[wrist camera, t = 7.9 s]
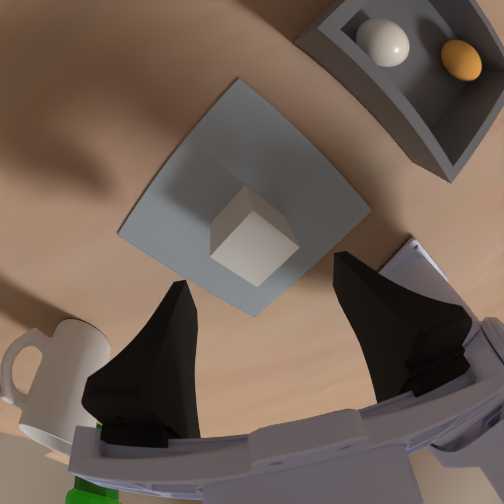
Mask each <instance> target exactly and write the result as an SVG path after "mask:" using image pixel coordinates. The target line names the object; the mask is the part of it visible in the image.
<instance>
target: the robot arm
mask: <svg viewBox="0 0 504 504" xmlns="http://www.w3.org/2000/svg"><path fill="white" fill-rule="evenodd" d="M415 245H416V246H415ZM414 246H415V247H414ZM333 287H334V290H335V293H336V295H337V298H338V301H339V303H340V305H341V307H342V309H343V311H344V313H345V315H346V317H347V319H348V321H349V322H350V324H351V326H352V328H353V330H354V332H355V334H356V336H357V338H358V341H359V343H360V346H361V348H362V351H363V354H364V357H365V360H366V363H367V366H368V369H369V373H370V376H371V380H372V383H373V387H374V391H375V396H376V400H377V404H375V405H372V406H369V407H366V408H363V409H359V410H354V409H344V410H339V411H334V412H330V413H327V414H323V415H319V416H315V417H310V418H306V419H301V420H296V421H292V422H286V423H281V424H275V425H271V426H267V427H263V428H259V429H257V430H255V431H253V432H251V433H250V434H244V435H235V436H225V437H212V438H201V436H200V430H199V423H198V414H197V405H196V392H195V357H196V345H197V333H198V319H197V309H196V306H195V304H194V301H193V298H192V295H191V293H190V290H189V287H188V284H187V282H186V280H182V281H176V282H174V283H173V284H172V286H171V287H170V289H169V290H168V292H167V294H166V295H165V297H164V298H163V300H162V302H161V303H160V305H159V306H158V308H157V309H156V311H155V312H154V314H153V315H152V317H151V318H150V319H149V321H148V322H147V324H146V325H145V326H144V327H143V329H142V330H141V331H140V332H139V333H138V335H137V336H136V337H135V338H134V339H133V340H132V341H131V342H130V343H129V344H128V345H127V346H126V347H125V348H124V349H123V350H122V351H121V352H120V353H119V354H118V355H117V356H116V357H114V358H113V359H112V360H111V361H110V362H108V363H107V364H106V365H105V366H103V367H102V368H100V369H99V370H97V371H96V372H95V373H93V374H92V375H90V376H89V377H87V381H86V384H85V388H84V392H83V395H82V399H81V404H82V406H83V408H84V409H85V410H86V411H87V412H88V413H89V414H90V415H92V416H93V417H94V418H95V419H97V420H98V421H99V422H100V423H102V424H103V425H102V430H100V429H97V428H93V427H86V426H79V425H77V426H76V428H75V432H74V438H73V443H72V448H71V454H70V461H69V467H68V471H69V472H70V473H72V474H74V475H76V476H78V477H80V478H83V479H85V480H87V481H89V482H92V483H94V484H96V485H99V486H102V487H107V488H111V489H117V490H122V491H127V492H133V493H139V494H145V495H153V496H160V497H170V498H180V499H196V500H203V504H424V502H423V498H422V495H421V492H420V489H419V486H418V483H417V480H416V477H415V474H414V471H413V468H412V466H411V463H410V460H409V457H408V455H410V454H412V453H414V452H416V451H418V450H420V449H422V448H424V449H426V450H427V451H429V452H430V453H432V454H433V455H434V456H435V457H436V458H437V459H438V460H439V462H440V463H441V464H442V466H443V467H449V468H464V467H479V468H481V470H482V471H483V472H484V474H485V476H486V477H487V479H488V480H489V481H490V483H491V485H492V486H493V488H494V489H495V491H496V492H497V494H498V496H499V497H500V499H501V500H502V502H503V504H504V324H503V323H502V322H501V321H500V320H499V319H498V318H496V317H485V318H484V320H483V321H482V322H481V321H479V320H478V318H477V317H476V316H475V314H474V313H473V312H472V311H471V309H470V308H469V307H468V306H467V304H466V303H465V302H464V301H463V299H462V298H461V297H460V296H459V295H458V293H457V292H456V291H455V290H454V289H453V288H452V286H451V285H450V284H449V283H448V279H447V278H446V276H445V275H444V274H443V272H442V271H441V270H440V268H439V267H438V266H437V264H436V263H435V262H434V261H433V259H432V258H431V257H430V256H429V254H428V253H427V252H426V251H425V249H424V248H423V247H422V246H421V245H420V243H419V242H418V241H417V240H416V239H415V238H410V239H409V240H408V241H407V242H406V244H405V245H404V246H403V247H402V248H401V249H400V250H399V251H398V252H397V253H396V254H395V256H394V257H393V258H392V259H391V260H390V261H389V262H388V263H387V264H386V265H385V266H384V267H383V268H382V269H381V270H380V271H379V272H376V271H375V270H373V269H372V268H370V267H369V266H367V265H366V264H364V263H363V262H361V261H360V260H358V259H357V258H356V257H354V256H353V255H351V254H350V253H348V252H347V251H343V252H338V253H334V275H333Z"/></svg>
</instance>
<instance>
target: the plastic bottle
mask: <svg viewBox="0 0 504 504" xmlns="http://www.w3.org/2000/svg"><path fill="white" fill-rule="evenodd" d="M96 428H97V429H100V430H102V427H97V426H96ZM118 496H119V490H117V489H111V488H107V487H102V486H99V485H96V484H94V483H92V482H89V481H87V480H85V479H83V478H80V477H78V476H76V475H75V485H74V488H73V489H72V490H70V491H68V493H67V496H66V504H121V503H120V502H119V501H118V498H119V497H118Z"/></svg>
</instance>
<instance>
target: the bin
mask: <svg viewBox="0 0 504 504" xmlns="http://www.w3.org/2000/svg"><path fill="white" fill-rule="evenodd" d="M373 18H383V19H387V20H390V21H392V22H394V23H395V24H397V25H398V26H399V27H400V28H401V29H402V30H403V31H404V32H405V34H406V35H407V38H408V40H409V46H410V48H409V53H408V56H407V58H406V59H405V60H404V61H403V62H402V63H400V64H399V65H396V66H392V67H383V66H379V65H377V64H376V63H375V62H374V61H373V60H372V59H371V58H370V57H369V56H368V55H367V54H366V53H365V52H364V51H363V50H362V49H361V48H360V47H359V46H358V45H357V43H356V33H357V30H358V28H359V27H360V25H361V24H362V23H364V22H365V21H367V20H369V19H373ZM450 40H461V41H464V42H466V43H468V44H469V45H471V46H472V47H473V48H474V49H475V50H476V52H477V53H478V55H479V57H480V59H481V64H482V68H481V72H480V74H479V76H478V77H477V78H476V79H474V80H472V81H462V80H459V79H457V78H455V77H453V76H452V75H451V74H450V73H449V72H448V71H447V70H446V68H445V67H444V65H443V63H442V59H441V50H442V48H443V46H444V44H445V43H447V42H448V41H450ZM292 43H293V44H294V45H296V46H297V47H298V48H300V49H301V50H302V51H303V52H305V53H306V54H307V55H308V56H310V57H311V58H312V59H313V60H315V61H316V62H317V63H318V64H319V65H320V66H322V67H323V68H324V69H325V70H326V71H327V72H329V73H330V74H331V75H332V76H333V77H334V78H335V79H336V80H337V81H339V82H340V83H341V84H342V85H343V86H344V87H345V88H346V89H347V90H348V91H349V92H350V93H351V94H352V95H353V96H354V97H355V98H356V99H357V100H358V101H359V102H360V103H361V104H362V105H363V106H364V107H365V108H366V109H367V110H368V111H369V112H370V113H371V114H372V115H373V116H374V117H375V118H376V119H377V121H378V122H379V123H380V124H381V125H382V126H383V127H384V128H385V130H386V131H387V132H388V133H389V134H390V135H391V136H392V138H393V139H394V140H395V141H396V142H397V144H398V145H399V146H400V147H401V148H402V150H403V151H404V152H405V153H406V155H407V156H408V157H409V159H410V160H411V161H412V162H413V163H415V164H417V165H419V166H420V167H422V168H424V169H426V170H428V171H430V172H432V173H433V174H435V175H437V176H439V177H440V178H442V179H444V180H446V181H447V182H449V183H452V182H453V180H454V179H455V178H456V176H457V175H458V174H459V172H460V171H461V170H462V168H463V167H464V166H465V164H466V163H467V161H468V160H469V159H470V157H471V156H472V154H473V153H474V151H475V150H476V148H477V147H478V145H479V144H480V142H481V141H482V139H483V138H484V136H485V135H486V133H487V132H488V130H489V129H490V127H491V125H492V124H493V122H494V121H495V119H496V117H497V116H498V114H499V112H500V111H501V109H502V107H503V105H504V47H503V45H502V43H501V41H500V39H499V37H498V36H497V34H496V32H495V30H494V29H493V27H492V25H491V24H490V22H489V20H488V19H487V17H486V16H485V14H484V13H483V11H482V10H481V8H480V7H479V5H478V4H477V2H476V1H475V0H335V1H333V2H332V3H331V4H330V5H329V6H328V7H327V8H326V9H325V10H324V11H323V12H322V13H321V14H320V15H319V16H318V17H317V18H316V19H315V20H314V21H313V22H312V23H311V24H310V25H309V26H308V27H307V28H306V29H305V30H304V31H303V32H302V33H301V34H300V35H299V36H298V37H297V38H296V39H295V40H294V41H293V42H292Z"/></svg>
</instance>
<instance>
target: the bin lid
mask: <svg viewBox="0 0 504 504" xmlns="http://www.w3.org/2000/svg"><path fill="white" fill-rule="evenodd" d="M371 211H372V209H371V208H370V207H369V206H368V205H367V203H366V202H365V201H364V200H363V199H362V197H361V196H360V195H359V194H358V193H357V192H356V190H355V189H354V188H353V187H352V186H351V185H350V184H349V182H348V181H347V180H346V179H345V178H344V177H343V176H342V175H341V173H340V172H339V171H338V170H337V169H336V168H335V167H334V166H333V165H332V164H331V163H330V162H329V161H328V159H327V158H326V157H325V156H324V155H323V154H322V153H321V152H320V151H319V150H318V149H317V148H316V147H315V146H314V145H313V144H312V143H311V142H310V141H309V140H308V139H307V138H306V137H305V136H304V135H303V134H302V133H301V132H300V131H299V130H298V129H297V128H296V127H295V126H294V125H293V124H291V123H290V122H289V121H288V120H287V119H286V118H285V117H284V116H283V115H282V114H281V113H280V112H278V111H277V110H276V109H275V108H274V107H273V106H272V105H271V104H270V103H268V102H267V101H266V100H265V99H264V98H263V97H262V96H260V95H259V94H258V93H257V92H256V91H254V90H253V89H252V88H251V87H250V86H248V85H247V84H246V83H245V82H244V81H242V80H241V79H240V78H239V79H238V80H237V81H236V82H235V83H234V84H233V85H232V86H231V87H230V88H229V89H228V90H227V91H226V92H225V94H224V95H223V96H222V97H221V98H220V99H219V100H218V101H217V102H216V103H215V104H214V106H213V107H212V108H211V109H210V110H209V111H208V112H207V114H206V115H205V116H204V117H203V118H202V119H201V120H200V122H199V123H198V124H197V125H196V126H195V128H194V129H193V130H192V131H191V132H190V134H189V135H188V136H187V137H186V138H185V140H184V141H183V142H182V143H181V145H180V146H179V147H178V149H177V150H176V151H175V152H174V154H173V155H172V156H171V158H170V159H169V160H168V161H167V163H166V164H165V165H164V167H163V168H162V170H161V171H160V172H159V174H158V175H157V176H156V178H155V179H154V181H153V182H152V183H151V185H150V186H149V188H148V189H147V190H146V192H145V193H144V195H143V196H142V198H141V199H140V201H139V202H138V204H137V205H136V207H135V208H134V210H133V211H132V213H131V214H130V216H129V217H128V219H127V220H126V222H125V224H124V225H123V227H122V228H121V230H120V232H119V233H118V235H119V236H120V237H122V238H123V239H125V240H126V241H128V242H129V243H131V244H132V245H134V246H135V247H137V248H138V249H140V250H142V251H143V252H145V253H146V254H148V255H149V256H151V257H153V258H154V259H156V260H157V261H159V262H161V263H162V264H164V265H165V266H167V267H169V268H170V269H172V270H173V271H175V272H177V273H178V274H180V275H182V276H183V277H185V278H187V279H188V280H190V281H192V282H193V283H195V284H197V285H198V286H200V287H202V288H203V289H205V290H207V291H208V292H210V293H212V294H214V295H215V296H217V297H219V298H220V299H222V300H224V301H226V302H227V303H229V304H231V305H233V306H235V307H236V308H238V309H240V310H242V311H243V312H245V313H247V314H249V315H251V316H252V317H255V316H257V315H258V314H259V313H260V312H261V311H263V310H264V309H265V308H266V307H267V306H268V305H270V304H271V303H272V302H273V301H274V300H275V299H277V298H278V297H279V296H280V295H281V294H282V293H284V292H285V291H286V290H287V289H288V288H289V287H290V286H292V285H293V284H294V283H295V282H296V281H297V280H298V279H299V278H301V277H302V276H303V275H304V274H305V273H306V272H307V271H308V270H309V269H311V268H312V267H313V266H314V265H315V264H316V263H317V262H318V261H319V260H320V259H322V258H323V257H324V256H325V255H326V254H327V253H328V252H329V251H330V250H331V249H332V248H334V247H335V246H336V245H337V244H338V243H339V242H340V241H341V240H342V239H343V238H344V237H345V236H346V235H347V234H348V233H349V232H351V231H352V230H353V229H354V228H355V227H356V226H357V225H358V224H359V223H360V222H361V221H362V220H363V219H364V218H365V217H366V216H367V215H368V214H369V213H370V212H371Z"/></svg>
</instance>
